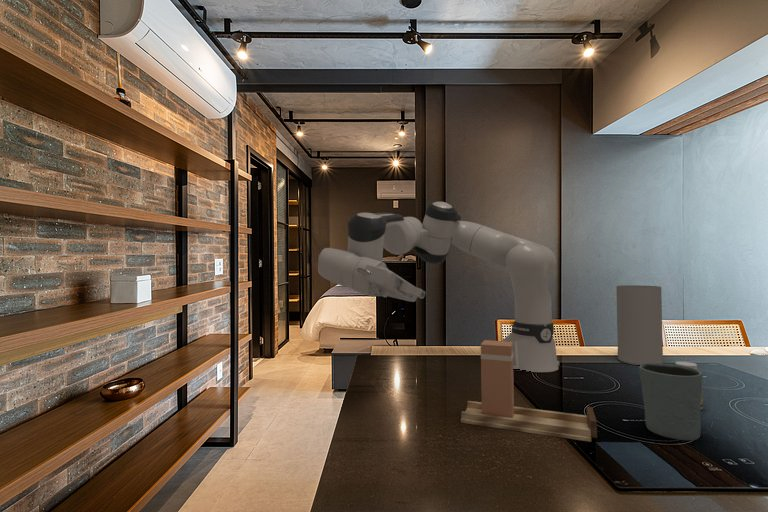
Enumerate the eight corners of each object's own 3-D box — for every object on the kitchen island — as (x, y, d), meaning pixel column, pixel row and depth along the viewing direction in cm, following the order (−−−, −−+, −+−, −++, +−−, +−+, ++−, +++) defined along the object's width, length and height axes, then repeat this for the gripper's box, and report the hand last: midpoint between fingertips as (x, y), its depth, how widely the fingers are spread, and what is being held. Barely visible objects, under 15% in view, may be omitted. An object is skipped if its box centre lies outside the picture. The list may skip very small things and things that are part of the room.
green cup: (686, 446, 70) (685, 378, 70) (629, 426, 79) (627, 366, 79) (715, 434, 75) (713, 371, 75) (657, 416, 84) (656, 360, 84)
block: (481, 417, 81) (480, 344, 82) (485, 408, 86) (484, 340, 87) (512, 421, 79) (511, 346, 79) (514, 412, 84) (513, 341, 84)
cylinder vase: (672, 366, 123) (670, 287, 124) (632, 367, 124) (630, 287, 124) (646, 357, 136) (644, 285, 136) (610, 357, 136) (608, 285, 137)
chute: (460, 422, 81) (460, 405, 81) (468, 407, 89) (468, 391, 90) (597, 442, 72) (597, 422, 72) (592, 424, 80) (591, 406, 80)
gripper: (358, 253, 88) (412, 270, 81) (392, 275, 106) (439, 290, 99) (347, 280, 87) (402, 298, 81) (383, 297, 105) (430, 313, 98)
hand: (422, 294), depth 90 cm, fingers closed
